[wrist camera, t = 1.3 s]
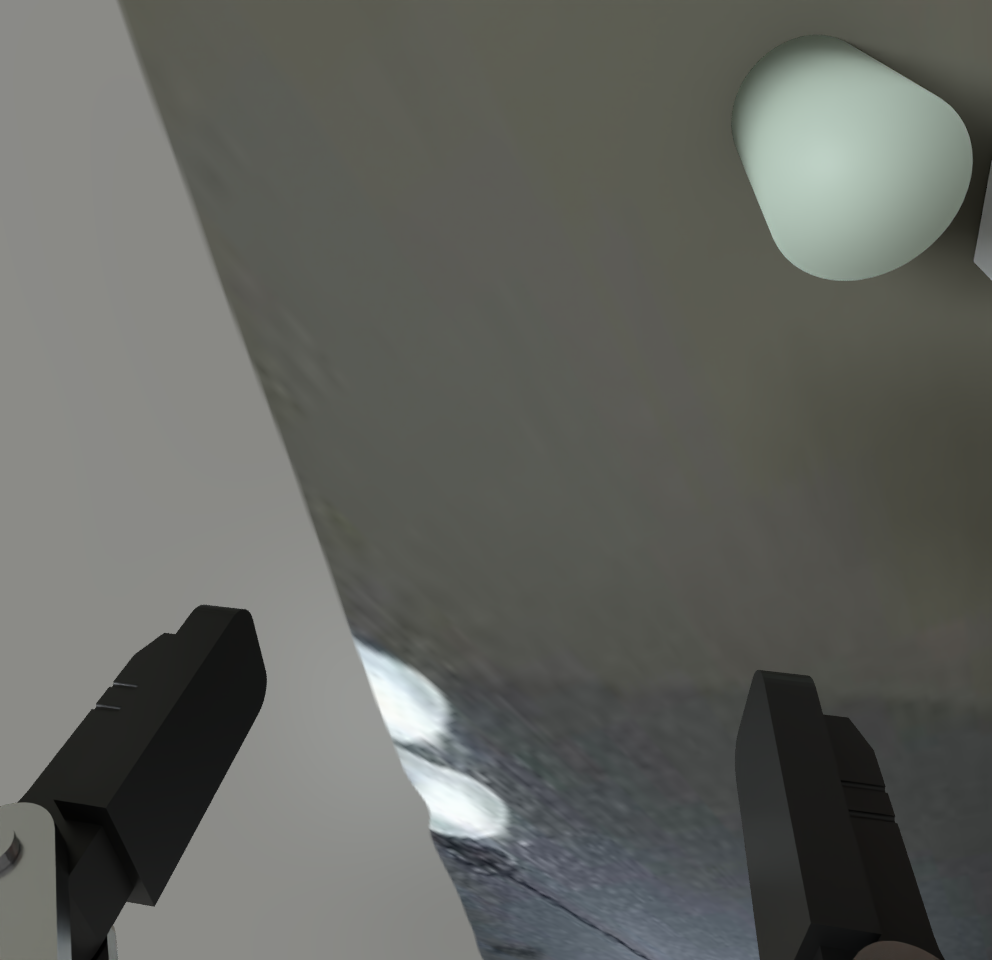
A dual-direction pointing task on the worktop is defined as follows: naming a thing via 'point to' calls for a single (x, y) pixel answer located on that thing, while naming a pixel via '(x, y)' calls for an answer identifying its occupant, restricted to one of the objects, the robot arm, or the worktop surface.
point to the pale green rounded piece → (848, 158)
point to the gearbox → (985, 233)
